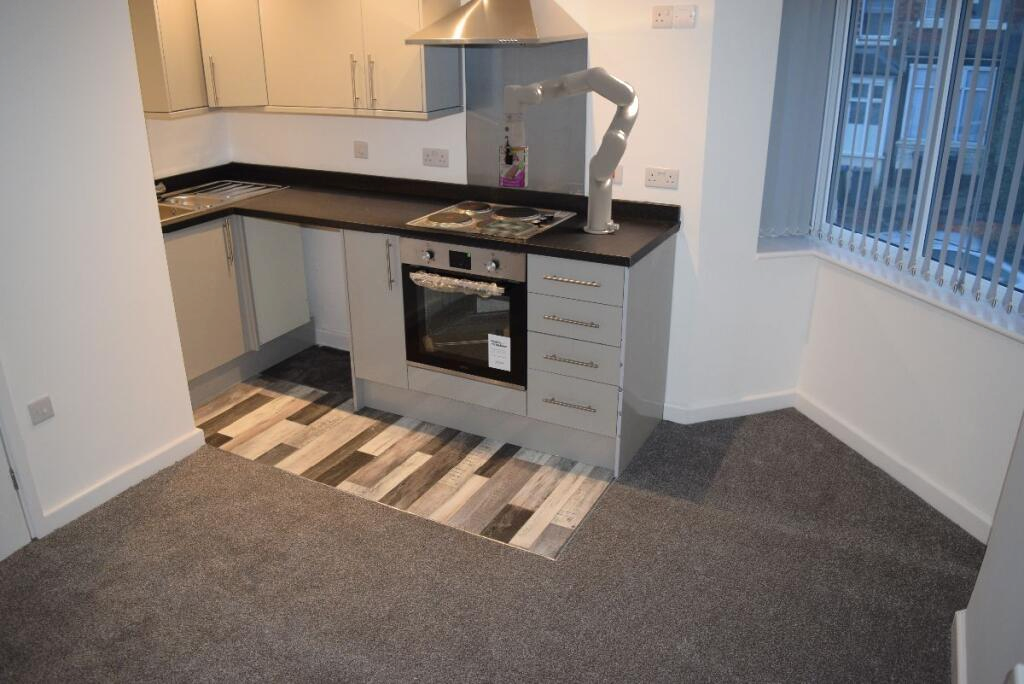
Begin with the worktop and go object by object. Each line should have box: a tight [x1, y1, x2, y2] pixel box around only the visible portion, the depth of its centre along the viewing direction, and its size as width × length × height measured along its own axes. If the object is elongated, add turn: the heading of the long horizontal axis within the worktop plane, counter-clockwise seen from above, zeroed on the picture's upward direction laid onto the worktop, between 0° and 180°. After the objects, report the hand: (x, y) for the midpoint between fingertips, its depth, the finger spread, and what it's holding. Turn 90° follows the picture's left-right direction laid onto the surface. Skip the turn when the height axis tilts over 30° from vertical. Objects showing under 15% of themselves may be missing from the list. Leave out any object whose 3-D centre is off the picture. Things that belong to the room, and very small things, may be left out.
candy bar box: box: [498, 144, 529, 189], centre depth 333 cm, size 11×5×16 cm, turn 72°
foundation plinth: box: [479, 218, 539, 240], centre depth 338 cm, size 18×17×3 cm
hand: (513, 162), depth 333 cm, fingers closed on candy bar box, 5 cm apart
